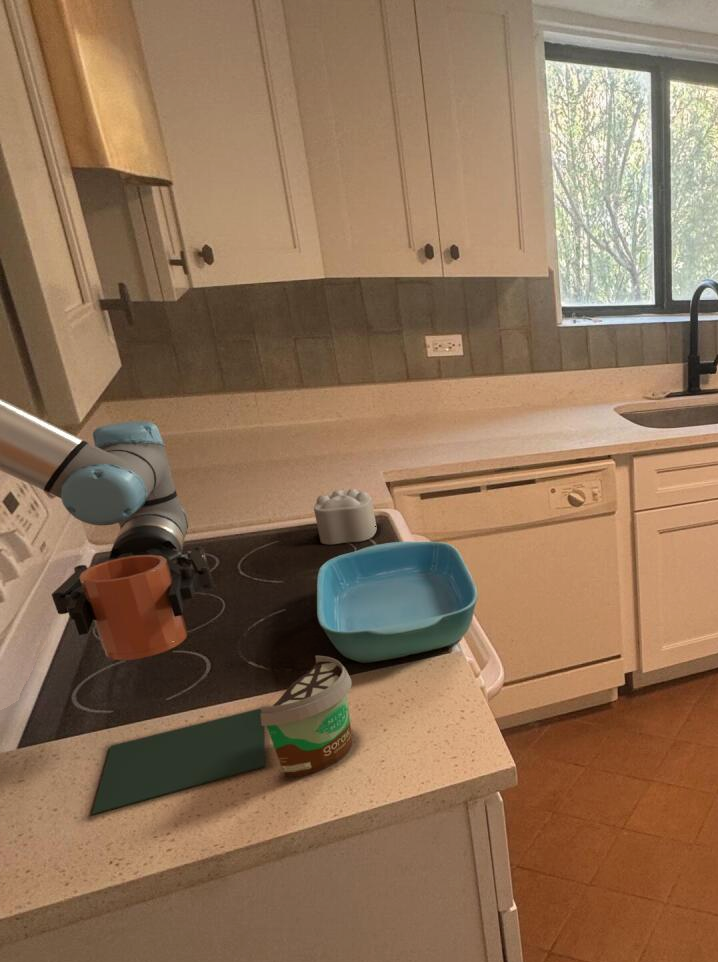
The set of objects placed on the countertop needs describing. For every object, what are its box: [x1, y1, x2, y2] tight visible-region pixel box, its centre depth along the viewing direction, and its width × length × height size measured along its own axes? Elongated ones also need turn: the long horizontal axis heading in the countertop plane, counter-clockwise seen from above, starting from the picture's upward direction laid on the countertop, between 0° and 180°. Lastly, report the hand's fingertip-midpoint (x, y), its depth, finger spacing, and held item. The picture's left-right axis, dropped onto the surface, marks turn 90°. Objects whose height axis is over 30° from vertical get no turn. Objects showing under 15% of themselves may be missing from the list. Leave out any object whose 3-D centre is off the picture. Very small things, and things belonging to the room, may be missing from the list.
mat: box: [91, 708, 266, 816], centre depth 93 cm, size 14×16×1 cm
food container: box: [260, 655, 353, 778], centre depth 92 cm, size 12×6×10 cm, turn 179°
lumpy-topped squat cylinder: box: [313, 487, 378, 545], centre depth 163 cm, size 10×13×9 cm
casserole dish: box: [316, 541, 479, 664], centre depth 126 cm, size 37×22×7 cm, turn 28°
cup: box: [79, 555, 188, 661], centre depth 93 cm, size 8×8×10 cm
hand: (128, 614), depth 89 cm, fingers closed on cup, 8 cm apart
